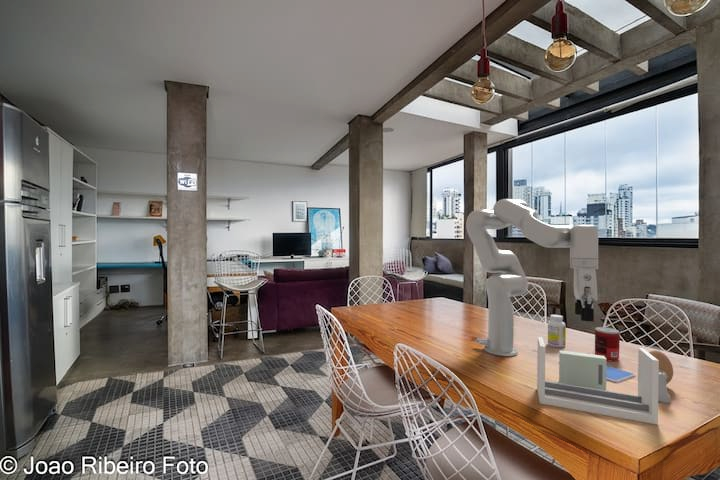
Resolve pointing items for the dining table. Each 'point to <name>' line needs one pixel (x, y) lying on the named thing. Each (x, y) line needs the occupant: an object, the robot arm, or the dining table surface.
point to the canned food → (607, 343)
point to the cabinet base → (605, 392)
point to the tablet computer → (617, 375)
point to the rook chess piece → (663, 388)
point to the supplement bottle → (556, 331)
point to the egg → (663, 364)
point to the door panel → (582, 370)
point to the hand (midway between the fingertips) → (583, 317)
